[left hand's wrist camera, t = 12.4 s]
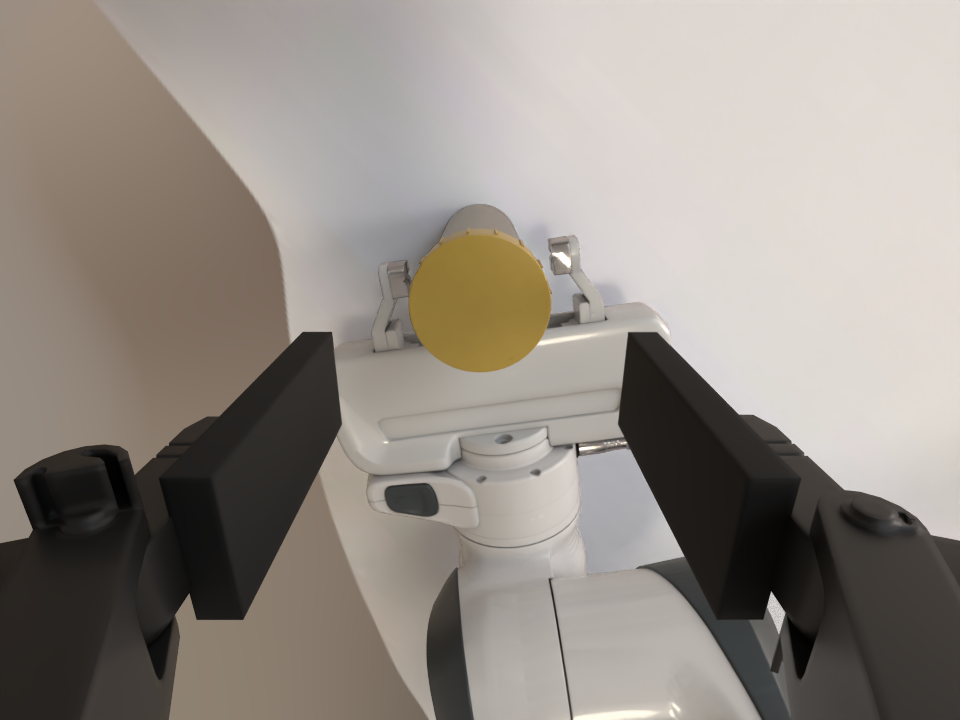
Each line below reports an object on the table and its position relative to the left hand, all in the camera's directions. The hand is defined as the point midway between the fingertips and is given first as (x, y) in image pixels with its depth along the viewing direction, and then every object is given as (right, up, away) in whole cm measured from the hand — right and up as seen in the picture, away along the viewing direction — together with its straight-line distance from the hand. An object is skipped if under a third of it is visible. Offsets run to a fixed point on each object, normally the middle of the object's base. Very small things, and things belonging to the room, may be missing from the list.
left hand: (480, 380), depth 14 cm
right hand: (0, +7, +15) cm, 16 cm away
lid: (0, +3, +7) cm, 7 cm away
